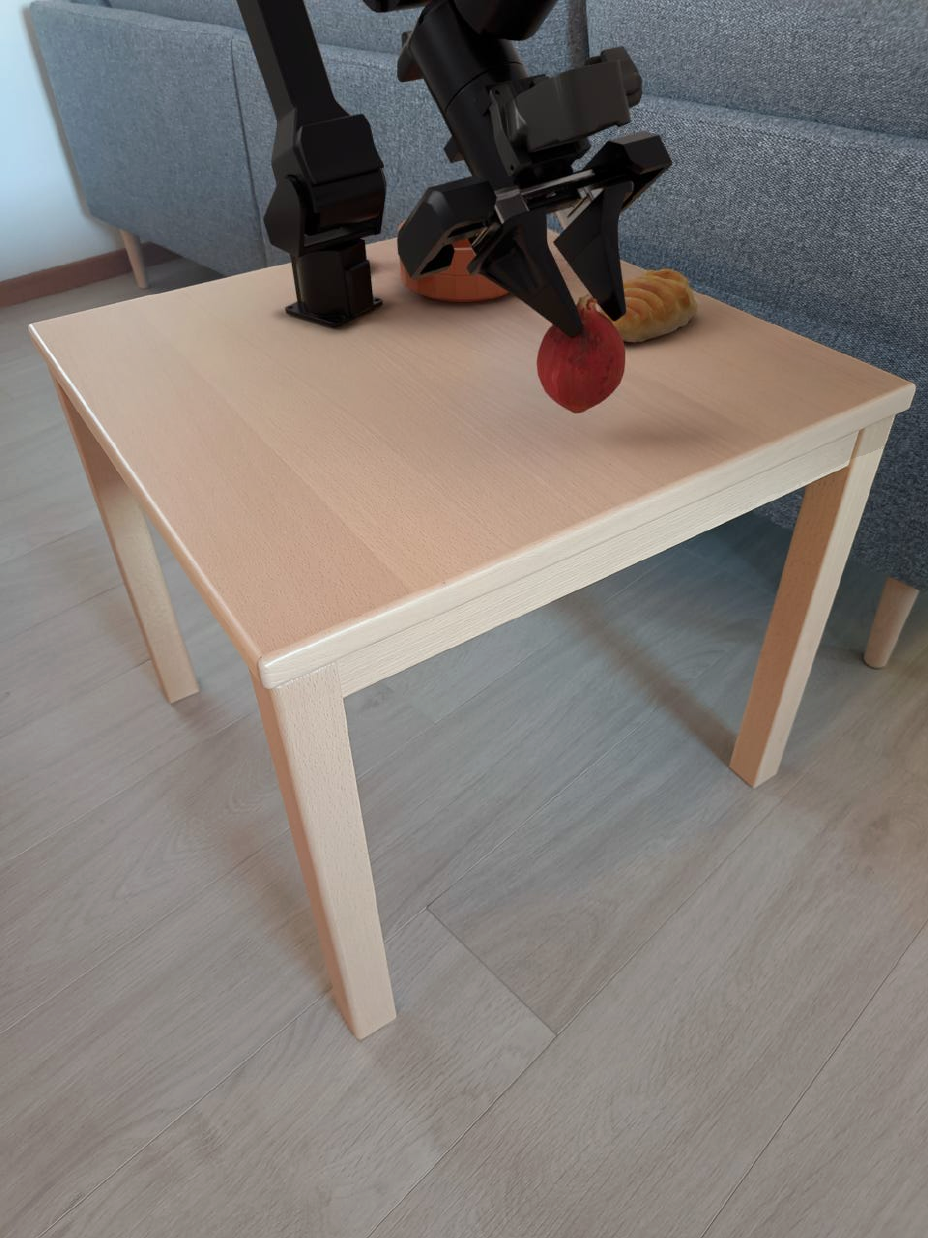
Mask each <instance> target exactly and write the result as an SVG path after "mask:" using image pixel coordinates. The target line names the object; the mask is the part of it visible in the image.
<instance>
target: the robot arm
mask: <svg viewBox="0 0 928 1238" xmlns="http://www.w3.org/2000/svg"><path fill="white" fill-rule="evenodd" d="M235 1H236V3H237V6H238V10H239V13H240V16H241V18H242V22H243V24H244V27H245V30H246V33H247V36H248V39H249V43H250V45H251V48H252V51H253V54H254V57H255V60H256V63H257V65H258V68H259V71H260V74H261V77H262V80H263V83H264V87H265V89H266V93H267V95H268V98H269V101H270V104H271V107H272V109H273V113H274V117H275V119H276V127H275V134H274V141H273V147H272V152H271V159H270V165H271V170H272V173H273V177H274V180H275V184H276V185H275V188H274V191H273V193H272V196H271V198H270V200H269V203H268V205H267V208H266V210H265V211H264V212H265V213H264V214H263V217H262V219H263V220H262V221H263V224H264V228H265V231H266V234H267V237H268V240H269V244H270V245H271V246H273V247H275V248H277V249H278V250H279V249H280V250H281V251H283V252H285V253H288V254H289V258H290V264H291V265H290V266H291V271H292V277H293V284H294V289H295V290H294V291H295V297H296V301H295V302H293V303H291V304H289V305H287V306H286V307H284V310H285V314H287V315H290V316H293V317H296V318H300V319H303V320H306V321H309V322H313V323H316V324H320V325H323V326H326V327H330V328H333V329H340V328H342V327H343V326H345V325H348V324H349V323H351V322H353V321H355V320H357V319H359V318H361V317H363V316H365V315H366V314H369V313H371V312H373V311H374V310H376V309H379V308H380V307H382V306H383V305H384V301H383V298H381V297H377V296H374V292H373V290H374V289H373V281H372V280H373V279H372V271H371V261H370V260H369V259H367V258H368V257H367V246H366V240H365V239H364V238H367V237H371V236H378V235H379V236H380V235H381V233H382V228H383V227H382V226H383V218H384V213H385V212H384V211H385V205H386V196H387V180H386V176H385V175H386V174H385V173H384V168H385V164H384V162H383V160H382V158H381V157H380V154H379V152H378V149H377V146H376V143H375V139H374V135H373V131H372V126H371V123H370V121H369V120H368V118H367V117H366V115H365V114H363V113H357V114H356V113H355V114H352V115H351V114H350V113H349V112H348V111H347V109H345V108H344V107H343V106H342V105H341V103H340V102H339V101H338V100H337V99H336V96H335V94H334V91H333V88H332V85H331V81H330V78H329V75H328V72H327V69H326V65H325V63H324V60H323V56H322V53H321V50H320V47H319V44H318V40H317V36H316V34H315V31H314V27H313V24H312V22H311V18H310V15H309V12H308V9H307V6H306V2H305V0H235ZM362 2H363V3H364V5H365V6H366V7H367V8H368V9H369V10H370V11H372V12H374V13H376V14H381V13H383V14H387V13H393V12H400V11H406V10H407V11H409V10H414V9H421V8H422V10H421V12H420V14H419V16H418V18H417V20H416V22H415V24H414V26H413V28H412V30H406V31H402V33H401V48H400V54H399V56H398V59H397V62H396V77H397V80H398V81H399V82H400V83H402V84H403V83H409V82H414V81H418V80H423V81H424V82H425V85H426V87H427V89H428V92H429V93H430V95H431V97H432V99H433V101H434V103H435V106H436V107H437V109H438V111H439V113H440V115H441V117H442V119H443V121H444V123H445V126H446V127H447V129H448V131H449V133H450V135H451V136H450V138H449V139H448V141H447V142H446V144H445V145H444V147H443V151H444V154H445V155H446V157H447V160H448V161H449V163H450V164H455V163H458V162H461V161H464V163H465V165H466V168H467V170H468V171H469V173H470V176H467V177H463V178H459V179H455V180H451V181H447V182H444V183H440V184H437V185H432V186H429V187H427V188H426V189H425V191H424V193H423V194H422V196H421V197H420V199H419V200H418V201H417V202H416V204H415V205H414V208H413V209H412V210H411V212H410V214H409V215H408V216H407V218H406V219H407V220H406V219H405V220H406V221H405V220H404V221H405V223H404V224H403V226H402V227H401V229H400V230H399V233H398V232H397V238H396V246H397V255H398V257H399V260H400V259H401V261H402V263H403V265H404V267H405V269H406V271H407V273H408V275H409V276H410V278H411V279H413V280H417V279H420V278H423V277H426V276H429V275H433V274H436V273H439V272H442V271H445V270H447V269H448V268H449V267H450V266H451V263H452V260H453V256H454V252H455V249H454V247H453V245H452V243H454V242H458V241H461V240H464V239H468V240H469V242H470V244H471V249H472V251H473V253H474V255H475V257H474V258H473V259H472V261H471V262H470V263H469V264H468V265H467V267H466V270H467V271H468V273H469V274H470V275H475V274H481V275H483V276H484V277H486V278H487V279H489V280H490V281H492V282H494V283H495V284H497V285H498V286H500V287H502V288H503V289H505V290H506V291H508V292H509V293H508V294H511V295H512V296H514V297H516V298H517V299H518V300H520V301H521V302H523V304H525V305H527V306H528V307H530V308H531V310H533V311H535V312H536V313H537V314H539V315H540V316H541V317H542V318H544V319H545V320H546V321H548V322H549V323H550V324H551V325H552V324H553V325H554V326H556V327H557V328H558V329H560V330H561V331H562V332H563V333H565V334H566V335H567V336H569V337H570V338H575V337H577V336H578V335H579V334H581V333H582V332H583V330H584V326H583V323H582V321H581V318H580V315H579V312H578V309H577V307H576V305H577V303H576V302H575V300H574V298H573V295H572V294H571V292H570V289H569V287H568V284H567V283H566V281H565V278H564V277H563V276H564V275H563V274H562V272H561V270H560V268H559V266H558V264H557V261H556V259H555V257H554V254H553V253H552V251H551V249H550V246H549V241H548V217H547V216H548V215H549V214H550V215H551V214H555V216H556V218H557V220H558V222H559V224H560V227H561V228H562V230H563V231H562V232H561V233H560V234H559V235H558V236H556V238H555V239H554V240H553V241H552V243H553V245H554V247H555V248H556V249H557V250H558V252H559V253H560V255H561V256H562V257H563V259H564V260H565V261H566V263H567V264H568V266H569V267H570V268H571V270H572V271H573V272H574V274H575V276H577V279H579V281H580V282H581V283H582V285H583V286H584V287H585V288H586V290H587V291H588V293H589V295H590V296H592V297H593V298H594V299H596V300H597V302H596V305H598V306H599V307H600V310H601V309H602V310H603V311H604V312H605V313H606V314H607V315H608V316H609V318H610V319H611V320H612V321H617V320H619V319H621V318H622V317H623V316H624V315H625V314H626V303H625V295H624V287H623V283H624V279H623V272H622V265H621V263H622V262H621V256H620V255H621V254H620V246H619V245H620V244H619V220H620V215H621V213H623V212H625V211H626V210H627V209H628V208H629V207H630V206H632V204H633V203H635V202H636V201H637V200H638V199H639V198H640V197H641V196H642V195H643V194H644V193H645V192H646V191H647V190H648V189H649V188H650V187H652V185H653V184H654V183H655V182H657V180H658V179H660V178H661V176H663V175H664V174H665V173H666V171H668V170H669V169H670V168H671V167H672V166H673V160H672V158H671V156H670V153H669V152H668V150H667V148H666V145H665V144H664V141H663V140H662V137H661V136H660V135H661V134H657V133H653V132H649V131H646V130H642V131H639V132H636V133H630V134H628V135H624V136H620V137H617V138H612V139H609V140H607V141H606V142H605V143H604V144H603V145H602V147H600V149H599V150H598V151H597V152H596V153H595V154H594V155H593V157H592V158H591V159H590V160H589V161H588V162H587V163H586V164H585V165H584V166H583V168H582V169H579V170H576V171H574V170H575V169H574V167H573V166H572V165H573V164H574V163H575V162H576V161H578V160H581V159H582V158H583V157H585V155H586V154H587V152H589V151H590V149H591V148H592V144H591V141H590V140H589V137H591V136H594V135H596V134H599V133H600V132H603V131H606V130H607V129H610V128H612V127H614V126H616V127H617V128H622V127H624V126H627V125H628V124H630V123H632V116H631V112H630V109H631V108H634V107H636V106H638V105H639V104H640V102H641V100H642V97H643V88H642V87H643V78H642V75H641V74H640V73H639V69H638V67H637V66H636V64H635V62H634V61H633V59H632V58H631V56H630V54H629V53H628V51H627V49H626V48H625V46H624V45H622V46H621V45H620V46H616V47H611V48H606V49H602V50H601V51H600V53H599V55H595V56H594V55H593V56H590V57H588V58H586V60H585V62H584V63H585V64H584V66H579V67H574V68H570V69H567V70H565V71H562V72H559V73H557V74H554V75H552V76H551V77H550V76H548V75H547V74H546V73H542V74H536V75H532V76H530V74H529V73H528V70H527V69H526V67H525V64H524V62H523V60H522V58H521V56H520V54H519V51H518V50H517V48H516V46H515V43H514V42H523V41H526V40H528V39H530V38H532V37H534V36H535V34H536V33H537V32H538V31H539V30H540V28H541V27H542V25H543V24H544V23H545V22H546V20H547V18H548V17H549V15H550V14H551V13H552V11H553V9H554V8H555V6H556V5H557V3H558V2H559V0H362Z"/></svg>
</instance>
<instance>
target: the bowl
mask: <svg viewBox="0 0 928 1238" xmlns="http://www.w3.org/2000/svg"><path fill="white" fill-rule="evenodd" d="M406 220H407V218H405V220H403V221H402V222H400V224H399V225H398V229H397V234H398V233H399V230H400V229H401V227H402V226H403V224H404V223H405V221H406ZM452 245H453V247H454V249H455V252H454V256H453V260H452V263H451V266H450V267H449V268H448V269H447V270H445V271H442V272H439V273H436V274H433V275H429V276H426V277H423V278H420V279H417V280H413V279H411V278H410V276H409V275H408V273H407V271H406V269H405V267H404V265H403V263H402V261H401V259H400V258H399V268H400V269H399V270H400V279H401V282H402V284H404V286H405V287H406V288H408V289H409V290H411V291H413V292H414V293H417V294H418V295H423V296H424V297H427V298H431V299H433V300H438V301H443V302H452V303H471V302H473V303H474V302H482V301H487V300H492V299H496V298H500V297H502V296H505V295H507V294H510V293H509V292H508V291H506V290H505V289H503V288H502V287H500V286H498V285H497V284H495V283H494V282H492V281H490V280H489V279H487V278H486V277H484V276H483V275H481V274H475V275H470V274H469V273H468V271H467V270H466V267H467V265H468V264H469V263H470V262H471V261H472V259H473V258H474V257H475V255H474V253H473V251H472V249H471V244H470V242H469V240H468V239H464V240H461V241H458V242H454V243H452Z"/></svg>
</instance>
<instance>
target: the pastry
mask: <svg viewBox="0 0 928 1238" xmlns="http://www.w3.org/2000/svg"><path fill="white" fill-rule="evenodd" d="M623 287H624V295H625V303H626V314H625V315H624V316H623V317H622V318H621V319H619V320H617V321H612V320H611V319H610V318H609V316H608V315H607V314H606V313H605V312H604V311H603V310H602V309H601V308H600V311H599V312H600V313H601V314H603V315H604V316H606V317H607V318H608V319H609V320H610V321H611V322H612V324H613V325H614V326H615V327H616V328H617V330H618V332H619V333H620V335H621V337H622V340H623V342H628V343H633V344H636V343H643V342H645V341H646V340H650V339H658V338H659V337H662V336H665V335H668V334H671V333H672V332H675V331H677V329H678V328H680V327H681V328H683V327H684V326H686V325H688V323H689V321H690V320H691V319H692V318H693V317H694V315H695V314H696V313H697V312H698V309H699V304H698V302H697V300H696V299H695V293H694V292H693V291H694V290H692V288H691V286H690V282H689V279H688V278H687V277H686V276H685V275H684V274H682V273H680V272H679V271H676V270H674V269H671V268H662V269H658V270H654V269H648V270H647V271H646V273H644V274H641V275H640V276H638V277H636V278H633V279H629V280H626V281H623Z"/></svg>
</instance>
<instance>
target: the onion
mask: <svg viewBox="0 0 928 1238" xmlns="http://www.w3.org/2000/svg"><path fill="white" fill-rule="evenodd" d="M596 305H597V300H596V299H594V298H593V297H592V296H591V294H585V295H583V296H580V297H578V301H577V303H576V307H577V309H578V312H579V315H580V318H581V321H582V323H583V326H584V330H583V332H582V333H581V334H579V335H578V336H577V337H575V338H570V337H569V336H567V335H566V334H565V333H563V332H562V331H561V330H560V329H558V328H557V327H556V326H554V325H553V324H552V323H551V325H550V327H548V329H547V330H546V332H545V334H544V335H543V338H542V340H541V342H540V345H539V348H538V351H537V358H536V370H537V371H536V372H537V377H538V379H539V381H540V384H541V386H542V388H543V390H544V392H545V394H546V395H548V397H550V399H551V400H552V401H554V402H555V403H556V404H557V405H559V406H560V407H562V408H563V409H565V410H566V411H569V412H570V413H573V414H582V413H584V412H585V413H586V411H588V410H589V409H592V408H594V407H596V406H598V405H600V404H602V403H603V401H606V400H607V399H608V398H609V397H610V396H611V395H612V394H613V393H614V392H615V390H616V389H617V388H618V387H619V386H620V384H621V383H622V380H623V378H624V374H625V370H626V347H625V343H624V342H625V341H623V340H622V337H621V335H620V333H619V332H618V330H617V328H616V327H615V326H614V325H613V324H612V322H611V321H610V320H609V319H608V318H607V317H606V316H604V315H603V314H601V313H600V311H598V310H597V307H596Z"/></svg>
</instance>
